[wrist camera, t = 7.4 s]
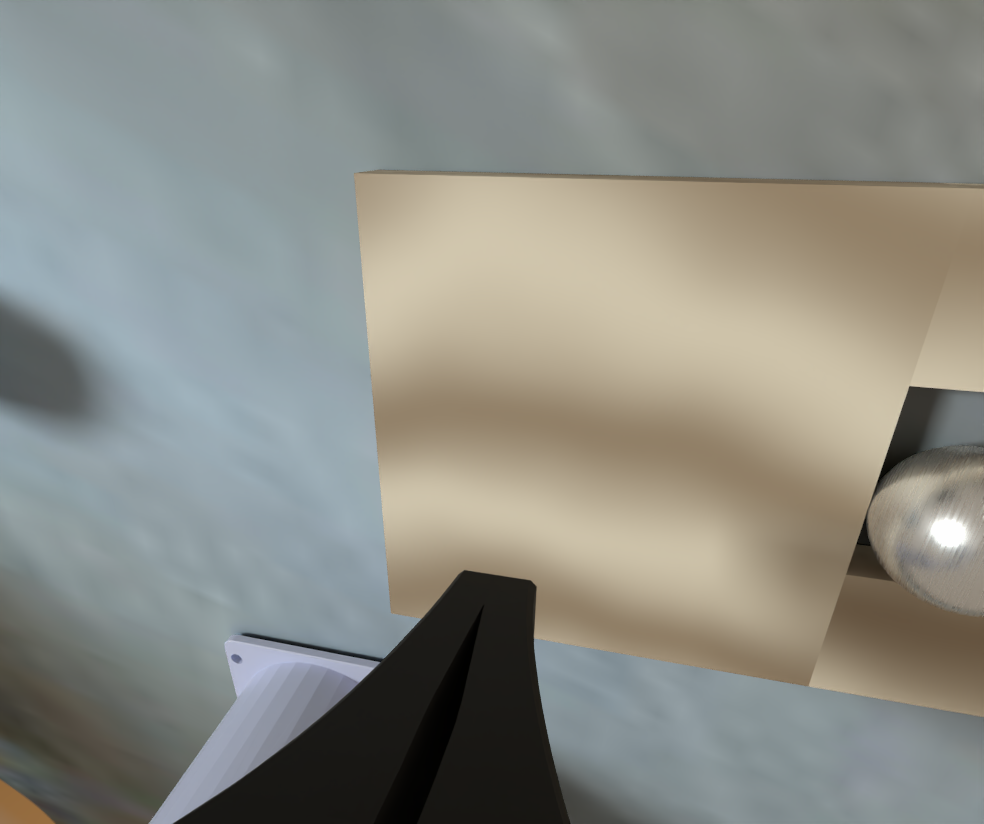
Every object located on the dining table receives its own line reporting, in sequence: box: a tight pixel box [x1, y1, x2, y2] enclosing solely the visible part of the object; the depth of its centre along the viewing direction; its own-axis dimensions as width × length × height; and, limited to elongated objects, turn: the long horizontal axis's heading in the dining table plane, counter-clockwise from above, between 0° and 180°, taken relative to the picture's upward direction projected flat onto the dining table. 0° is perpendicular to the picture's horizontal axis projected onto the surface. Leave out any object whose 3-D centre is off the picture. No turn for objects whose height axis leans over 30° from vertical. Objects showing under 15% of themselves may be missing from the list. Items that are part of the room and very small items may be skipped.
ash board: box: [354, 170, 984, 717], centre depth 16 cm, size 14×22×2 cm, turn 89°
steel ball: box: [866, 445, 984, 617], centre depth 14 cm, size 4×4×4 cm
